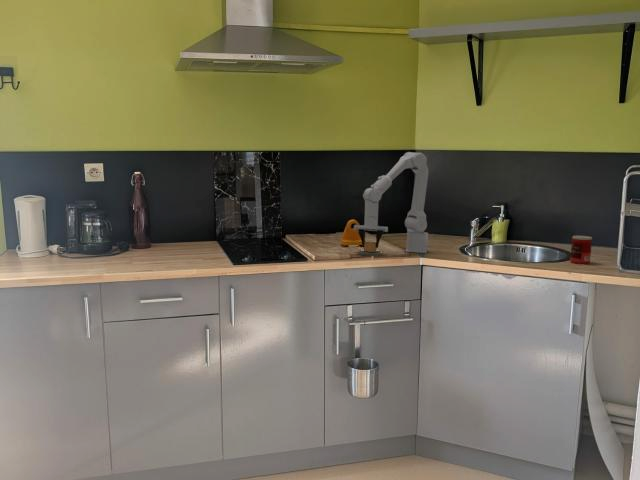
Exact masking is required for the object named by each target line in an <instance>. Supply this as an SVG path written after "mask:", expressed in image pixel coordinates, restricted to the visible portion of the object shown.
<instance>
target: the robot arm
mask: <svg viewBox="0 0 640 480" xmlns="http://www.w3.org/2000/svg"><path fill="white" fill-rule="evenodd" d="M427 162H428V158H427V156H426V155H425V154H424V153H423V152H412V151H407V152H405V153H404V154H403V156H401V157H400V158H399V160H398V162H396V164H394V166H393V167H392V168H391V169H390V170H389V172H388V173H386V174H385V175H384V174H382V175H381V176H378V177H377V180H376V181H375V182H374V183H373V184H371V185H370V187H368V188H366V189H364V192H363V194H362V198H363V199H364V224H363V225H362V224H361V225H360V224H359V225H356V224H354V225H353V228H354V230H359V231H358V233H359V235H360V238H361V241H362V248H364V242H365V241H366V232H367V231H369V232H371V231H372V232H376V233H375V236H376V237H375V238H376V239H375V242H376V248H377V249H378V248H379V245H380V240H381V238H382V236H383V234H384V232H385V233H388V232H389V227H388V226H383V225H382V226H381V225H379V223H378V222H379V201H381V199H382V196H383V194H384V193H385V192H386V191H388V189H389V188H390V187H391V186H392V184H393V183H392V181H394V179H396V177H398V176H399V175H400V174H401V173H403V171H404V170H406V169H411V171H412V172H413V173H414V174H415V179H414V184H413V191H412V192H413V193H412V200H411V207H410V210H409V211H408V212H407V216H406V218H405V220H404V226H405V228H406V231H407V232H406V249H405V250H404V252H405V251H406V252H405V253H418V254H427V252H428V250H429V232H425V230H427V228H428V227H427V226H428V222H427V214H426V213H425V211H424V210H425V202H426V194H427V187H428V182H429V181H428V178H429V171H430V170H429V167H428V163H427Z"/></svg>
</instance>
